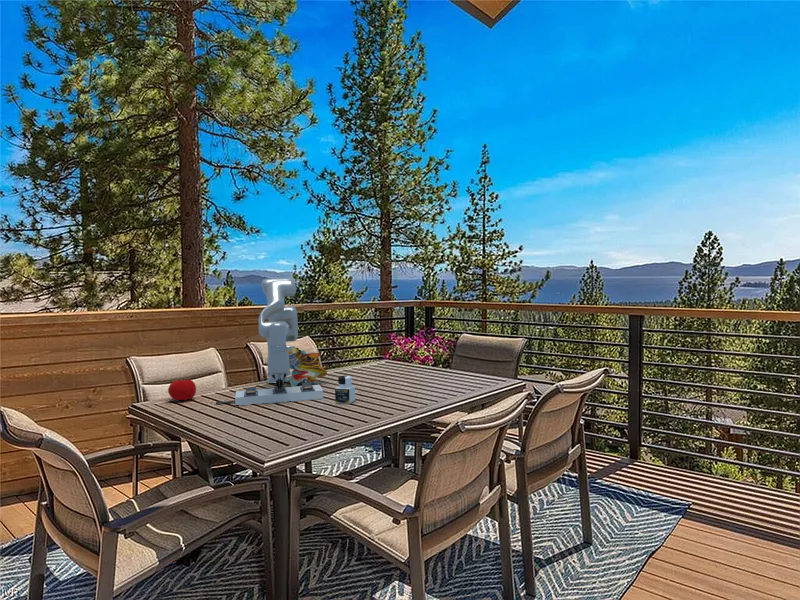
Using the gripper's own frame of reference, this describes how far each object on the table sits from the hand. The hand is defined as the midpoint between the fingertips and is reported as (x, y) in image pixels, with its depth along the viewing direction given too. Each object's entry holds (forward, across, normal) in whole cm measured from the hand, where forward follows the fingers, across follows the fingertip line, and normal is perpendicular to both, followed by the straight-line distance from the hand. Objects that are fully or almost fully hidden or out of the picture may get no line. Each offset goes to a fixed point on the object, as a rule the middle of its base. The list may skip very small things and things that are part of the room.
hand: (279, 388), depth 245 cm
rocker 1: (+1, +13, -3) cm, 13 cm away
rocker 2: (+1, -13, -3) cm, 13 cm away
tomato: (+6, +45, -21) cm, 50 cm away
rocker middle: (+1, 0, -3) cm, 3 cm away
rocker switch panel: (+6, +5, -5) cm, 9 cm away
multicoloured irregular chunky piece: (+6, -14, -35) cm, 38 cm away
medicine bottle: (+7, -29, +12) cm, 32 cm away
